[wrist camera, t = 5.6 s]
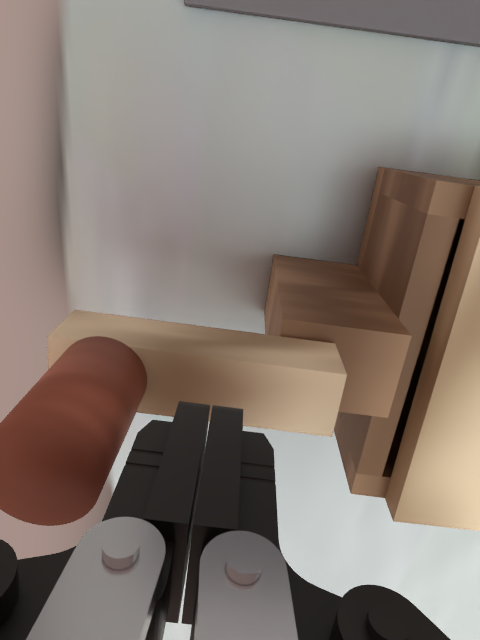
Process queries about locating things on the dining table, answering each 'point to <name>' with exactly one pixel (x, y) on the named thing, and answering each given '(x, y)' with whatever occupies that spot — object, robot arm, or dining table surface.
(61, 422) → the wooden block with peg
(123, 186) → the dining table surface
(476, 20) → the mat
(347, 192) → the dining table surface
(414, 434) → the lid
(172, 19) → the dining table surface
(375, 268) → the toolbox
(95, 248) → the dining table surface
